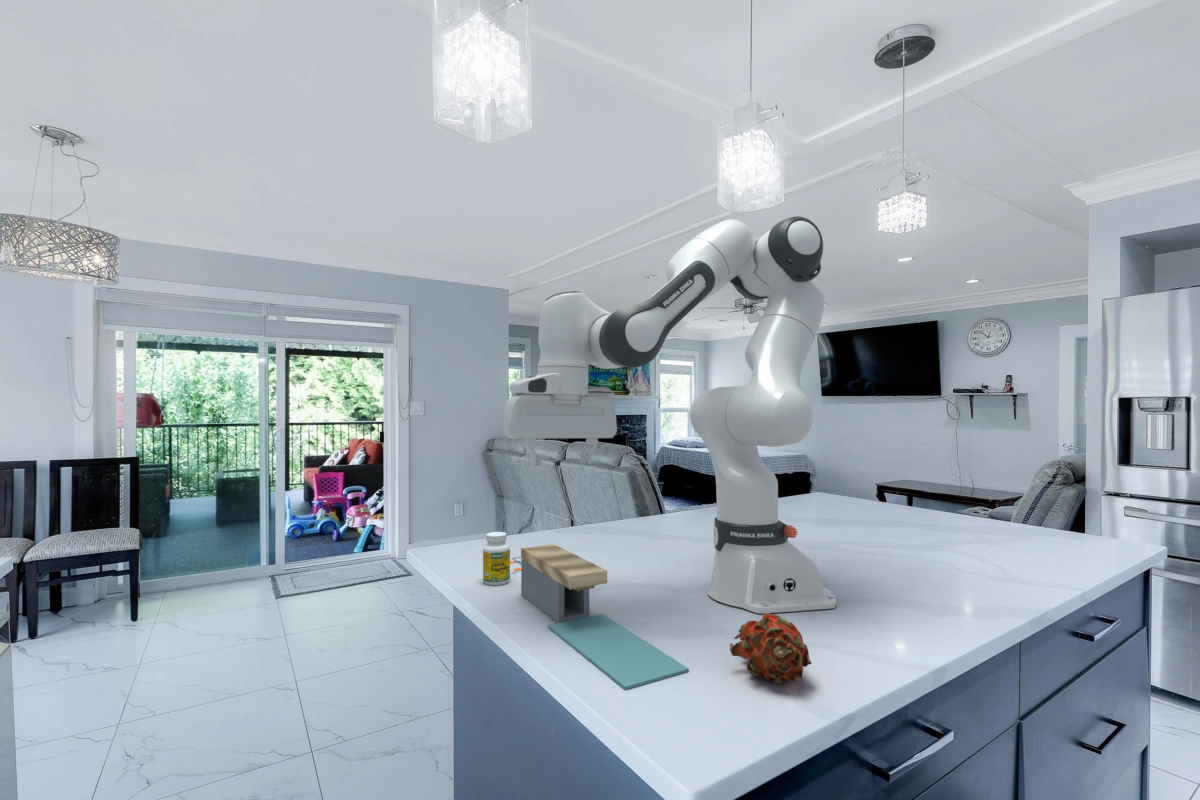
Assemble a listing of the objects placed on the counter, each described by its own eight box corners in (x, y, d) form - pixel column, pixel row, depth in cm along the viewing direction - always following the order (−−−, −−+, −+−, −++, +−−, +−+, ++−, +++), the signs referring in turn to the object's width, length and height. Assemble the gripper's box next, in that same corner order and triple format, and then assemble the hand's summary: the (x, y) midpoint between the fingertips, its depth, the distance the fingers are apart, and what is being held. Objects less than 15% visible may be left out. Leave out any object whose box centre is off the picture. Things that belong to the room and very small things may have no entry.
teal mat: (688, 671, 76) (688, 668, 76) (625, 690, 71) (625, 686, 71) (602, 616, 96) (602, 613, 96) (547, 627, 91) (547, 624, 91)
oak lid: (607, 588, 91) (607, 570, 91) (570, 594, 88) (570, 576, 88) (553, 558, 109) (553, 543, 109) (520, 563, 106) (520, 548, 106)
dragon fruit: (798, 714, 69) (743, 683, 80) (840, 662, 72) (781, 639, 83) (757, 659, 68) (707, 636, 79) (801, 609, 71) (747, 593, 82)
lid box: (589, 617, 96) (589, 575, 96) (558, 623, 93) (558, 580, 93) (548, 590, 109) (548, 553, 109) (521, 595, 107) (521, 557, 107)
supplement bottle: (503, 576, 118) (503, 529, 118) (514, 583, 114) (514, 534, 114) (478, 580, 115) (478, 532, 115) (489, 587, 111) (489, 538, 111)
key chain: (498, 560, 131) (498, 557, 131) (529, 557, 134) (529, 554, 134) (509, 576, 119) (509, 572, 119) (543, 573, 122) (543, 569, 122)
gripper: (607, 387, 107) (606, 461, 107) (501, 383, 98) (499, 464, 98) (623, 386, 101) (622, 464, 101) (512, 382, 92) (510, 468, 92)
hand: (561, 464), depth 99 cm, fingers open, 8 cm apart
